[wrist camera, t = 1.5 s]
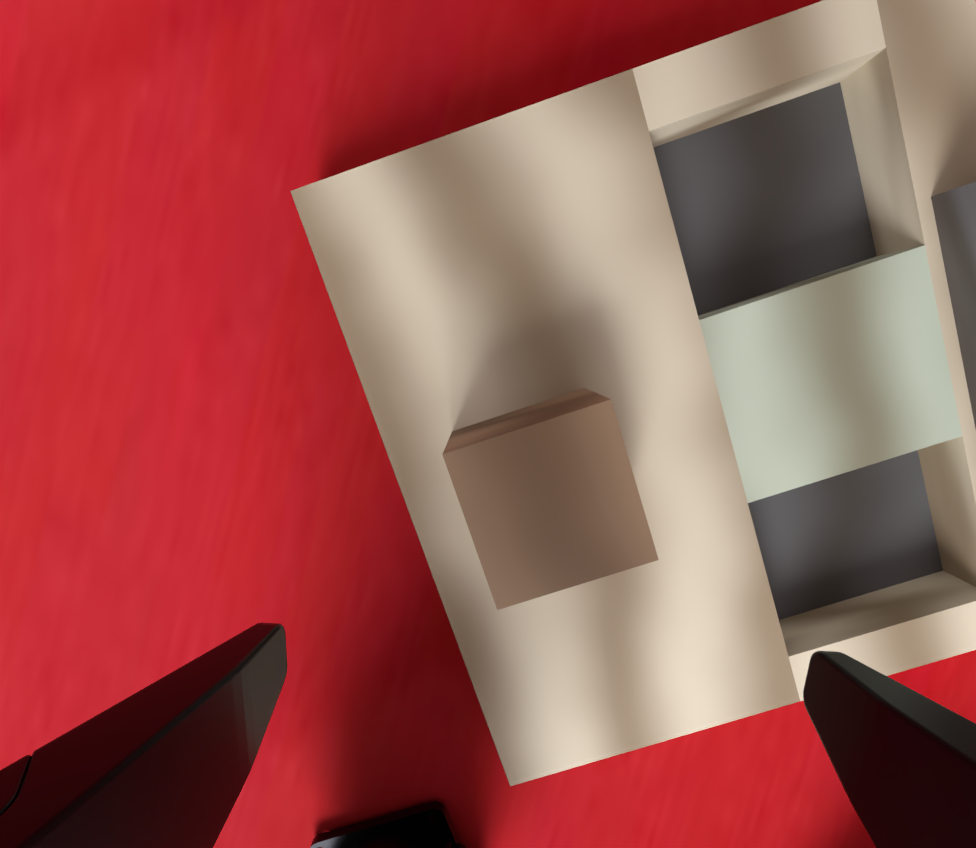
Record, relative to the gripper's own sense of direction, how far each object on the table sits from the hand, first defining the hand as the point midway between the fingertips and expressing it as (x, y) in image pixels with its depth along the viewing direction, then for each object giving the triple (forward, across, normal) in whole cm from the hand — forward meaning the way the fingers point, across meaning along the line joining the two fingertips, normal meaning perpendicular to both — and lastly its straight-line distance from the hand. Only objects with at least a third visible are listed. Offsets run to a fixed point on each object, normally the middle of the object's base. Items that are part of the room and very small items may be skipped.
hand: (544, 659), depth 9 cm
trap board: (+13, -7, -2) cm, 15 cm away
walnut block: (+10, -1, 0) cm, 10 cm away
